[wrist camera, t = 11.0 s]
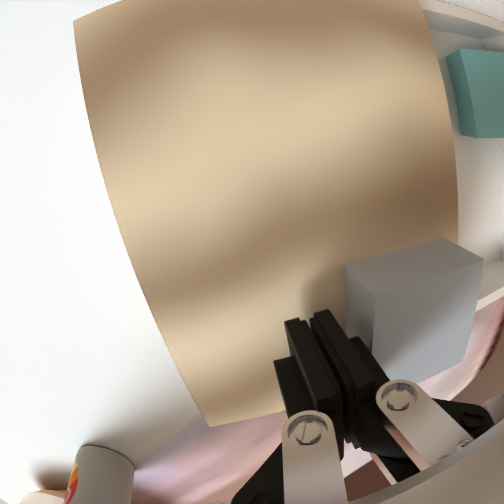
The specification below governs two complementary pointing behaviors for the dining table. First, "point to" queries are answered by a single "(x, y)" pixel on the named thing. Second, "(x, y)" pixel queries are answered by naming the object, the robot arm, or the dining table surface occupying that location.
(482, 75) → the teal tile
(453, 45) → the box
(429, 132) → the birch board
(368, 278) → the slate tile
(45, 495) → the bowl
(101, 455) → the lotion bottle
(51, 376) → the dining table surface
